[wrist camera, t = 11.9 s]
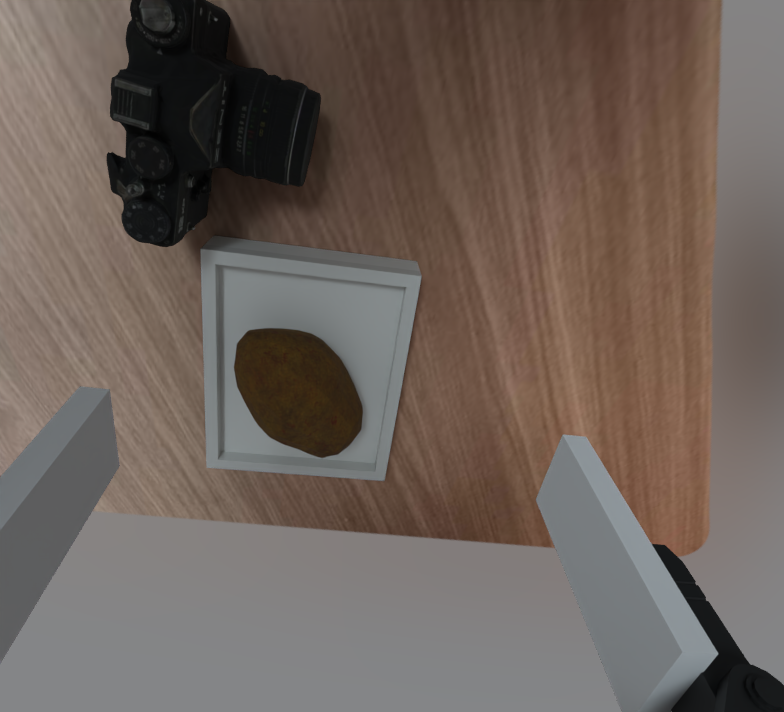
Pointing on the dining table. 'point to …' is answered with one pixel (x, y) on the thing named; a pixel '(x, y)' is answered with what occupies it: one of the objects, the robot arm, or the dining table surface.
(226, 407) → the tray
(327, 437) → the potato
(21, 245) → the dining table surface
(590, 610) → the robot arm
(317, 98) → the camera
